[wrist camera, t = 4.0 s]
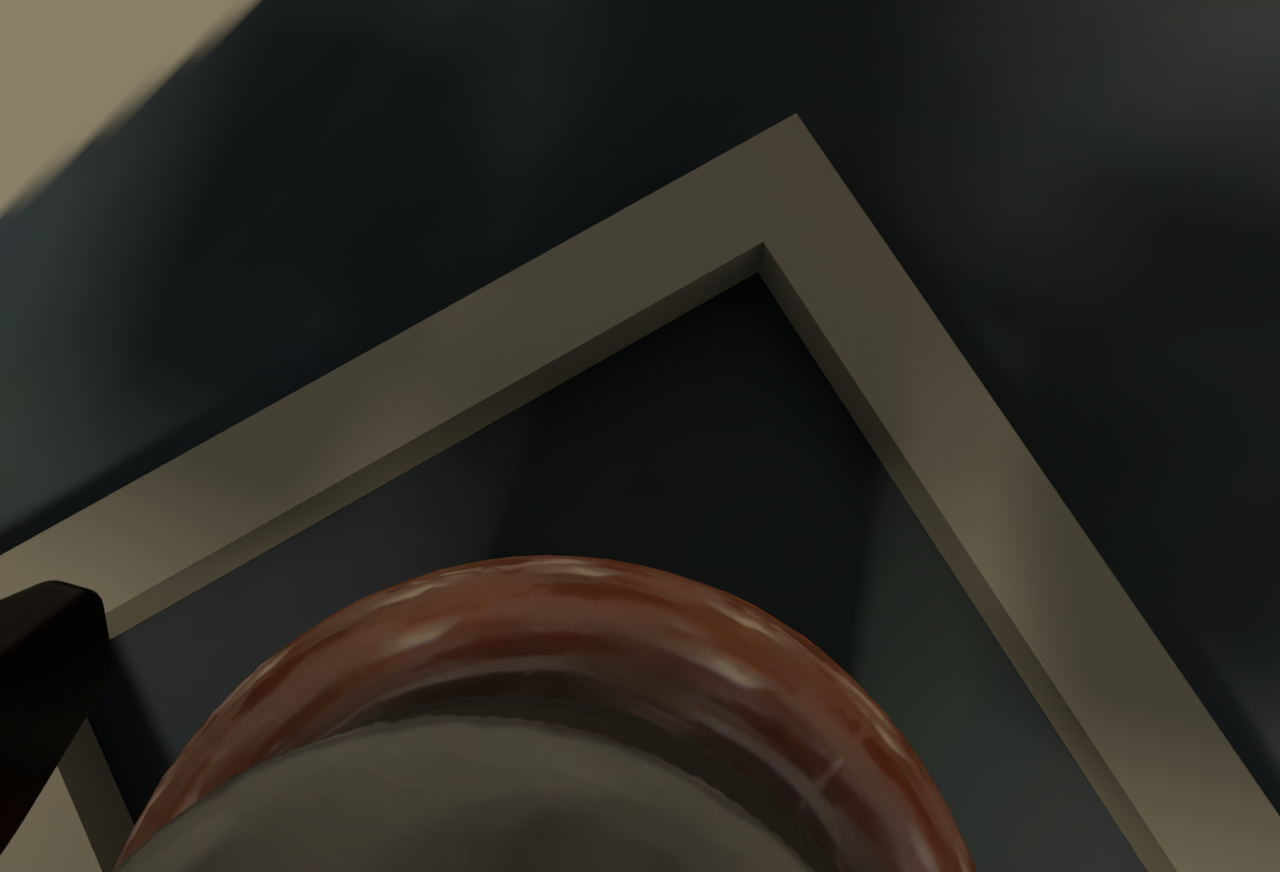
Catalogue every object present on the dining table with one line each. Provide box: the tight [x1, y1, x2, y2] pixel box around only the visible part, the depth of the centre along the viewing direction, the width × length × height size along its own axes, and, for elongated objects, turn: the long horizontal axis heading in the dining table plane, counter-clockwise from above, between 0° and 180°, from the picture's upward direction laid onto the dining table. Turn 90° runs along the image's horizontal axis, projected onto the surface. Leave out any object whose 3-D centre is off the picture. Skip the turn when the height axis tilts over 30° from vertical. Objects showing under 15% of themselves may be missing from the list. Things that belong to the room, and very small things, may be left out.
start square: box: [0, 113, 1280, 872], centre depth 14 cm, size 15×15×1 cm
